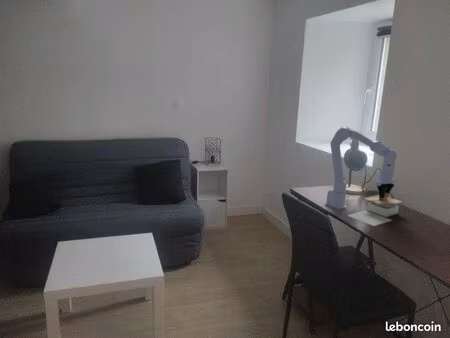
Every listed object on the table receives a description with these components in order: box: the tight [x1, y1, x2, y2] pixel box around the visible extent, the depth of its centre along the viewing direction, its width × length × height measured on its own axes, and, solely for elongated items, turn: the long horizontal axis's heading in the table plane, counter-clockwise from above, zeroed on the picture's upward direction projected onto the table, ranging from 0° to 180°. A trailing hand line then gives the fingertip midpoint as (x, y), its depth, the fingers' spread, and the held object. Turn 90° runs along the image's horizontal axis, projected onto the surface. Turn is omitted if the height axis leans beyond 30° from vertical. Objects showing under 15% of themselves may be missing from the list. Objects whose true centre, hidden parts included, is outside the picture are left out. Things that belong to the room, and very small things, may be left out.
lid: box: [362, 192, 404, 207], centre depth 182 cm, size 14×14×5 cm
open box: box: [366, 202, 400, 218], centre depth 184 cm, size 11×11×4 cm
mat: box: [346, 209, 393, 227], centre depth 176 cm, size 16×16×1 cm
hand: (383, 197), depth 182 cm, fingers closed on lid, 3 cm apart
